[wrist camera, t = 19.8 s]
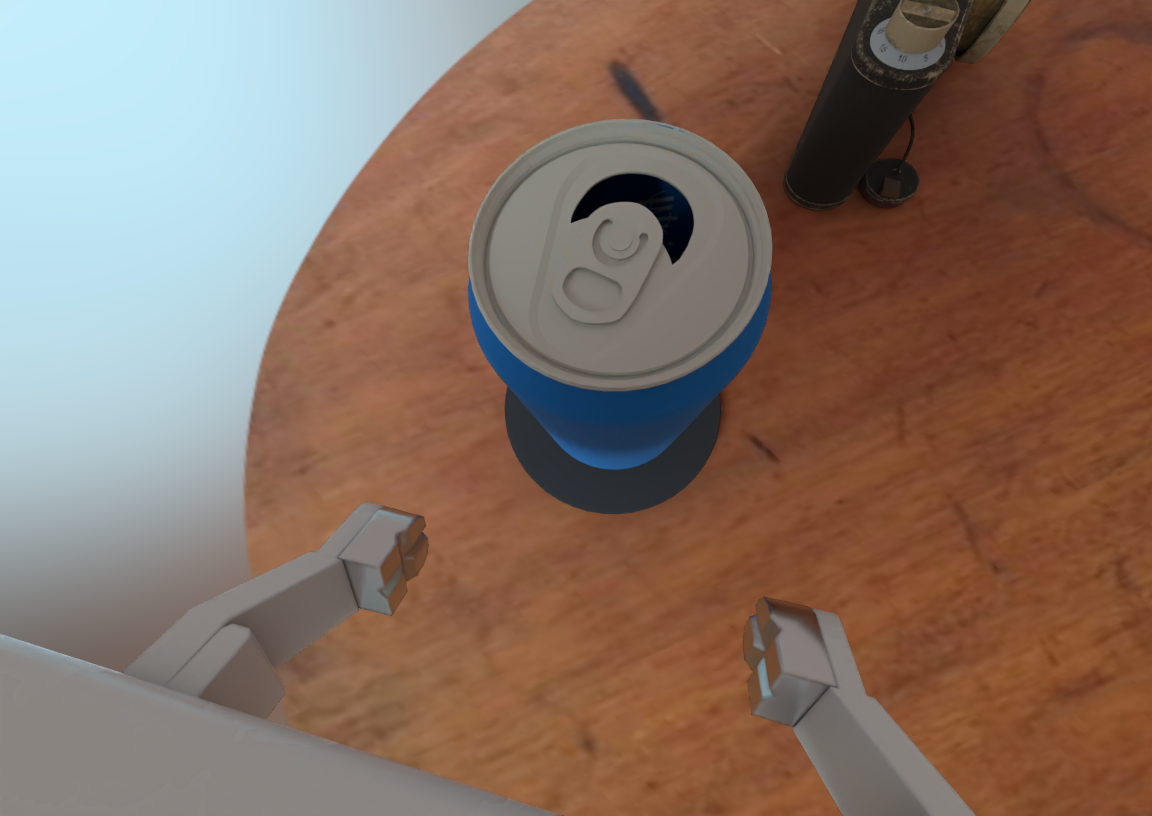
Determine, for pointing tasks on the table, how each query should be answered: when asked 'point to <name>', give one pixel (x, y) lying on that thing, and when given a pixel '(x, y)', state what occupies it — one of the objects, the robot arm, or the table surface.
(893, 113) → the camera
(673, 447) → the coaster
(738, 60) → the table surface
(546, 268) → the beverage can
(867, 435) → the table surface
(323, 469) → the table surface
